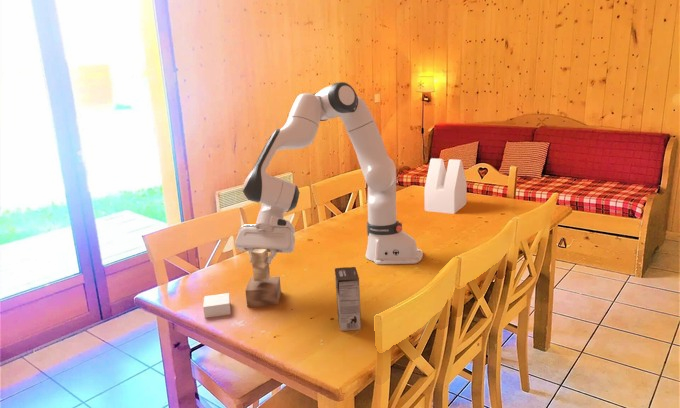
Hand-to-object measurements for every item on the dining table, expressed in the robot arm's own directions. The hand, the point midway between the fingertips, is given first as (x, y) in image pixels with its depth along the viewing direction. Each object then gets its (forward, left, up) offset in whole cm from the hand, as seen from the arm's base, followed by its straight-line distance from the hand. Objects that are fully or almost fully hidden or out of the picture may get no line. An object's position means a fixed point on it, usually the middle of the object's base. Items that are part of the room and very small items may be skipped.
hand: (259, 262), depth 170 cm
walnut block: (0, -1, -13) cm, 13 cm away
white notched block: (-51, -116, -14) cm, 127 cm away
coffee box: (-32, +10, -13) cm, 36 cm away
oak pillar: (0, -1, -6) cm, 6 cm away
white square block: (+12, +9, -13) cm, 20 cm away
